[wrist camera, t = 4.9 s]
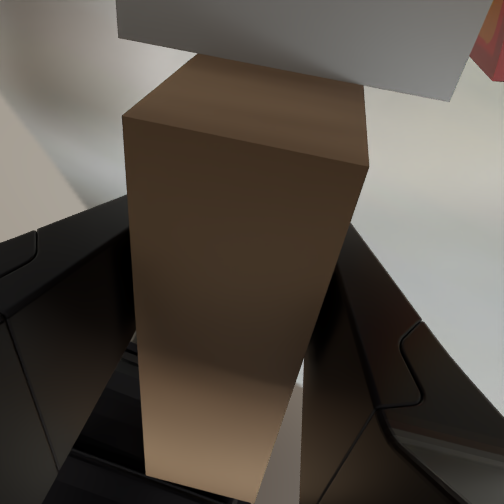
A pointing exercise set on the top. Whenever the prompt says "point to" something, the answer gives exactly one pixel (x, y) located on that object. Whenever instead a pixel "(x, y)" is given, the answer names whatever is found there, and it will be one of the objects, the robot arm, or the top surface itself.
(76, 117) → the top surface
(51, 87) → the top surface
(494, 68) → the baking soda box
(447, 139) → the top surface
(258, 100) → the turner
